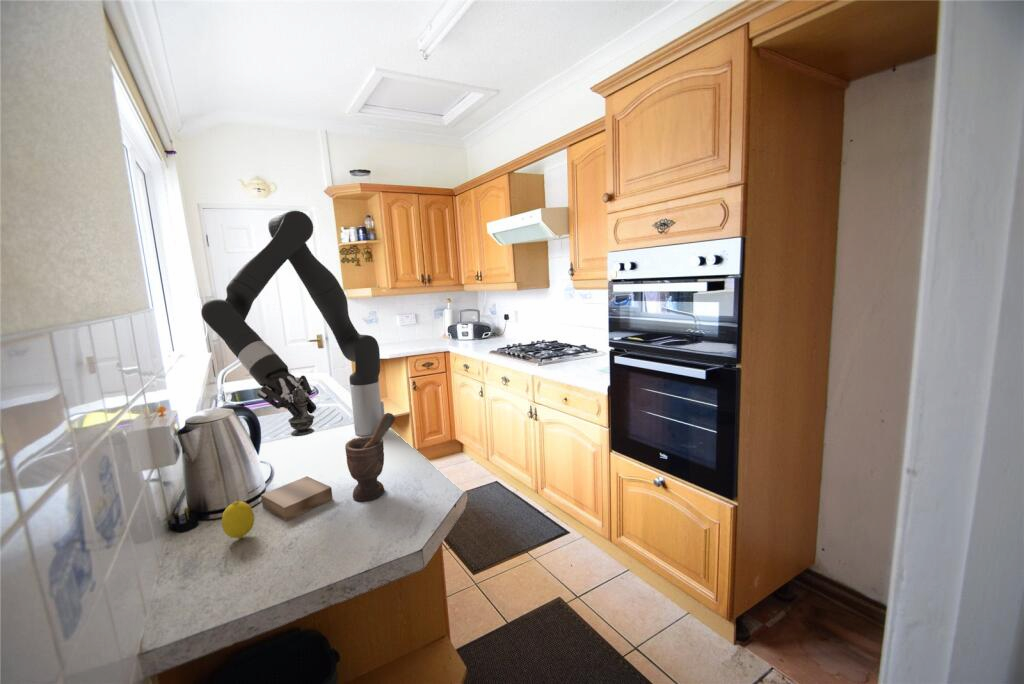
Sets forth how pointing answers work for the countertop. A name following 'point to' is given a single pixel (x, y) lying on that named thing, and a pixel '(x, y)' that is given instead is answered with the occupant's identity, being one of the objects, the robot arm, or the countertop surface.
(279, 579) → the countertop surface
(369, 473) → the mortar and pestle
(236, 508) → the lemon
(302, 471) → the countertop surface
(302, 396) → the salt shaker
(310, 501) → the walnut plinth
